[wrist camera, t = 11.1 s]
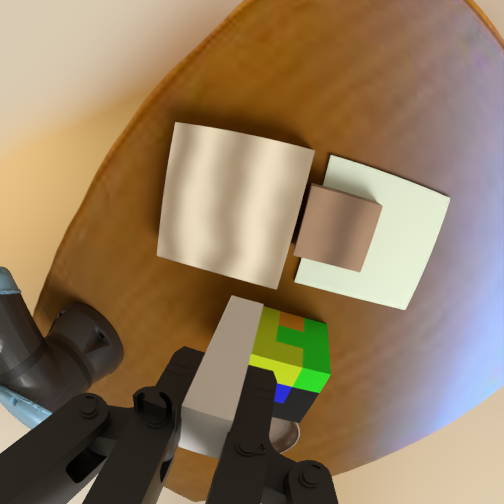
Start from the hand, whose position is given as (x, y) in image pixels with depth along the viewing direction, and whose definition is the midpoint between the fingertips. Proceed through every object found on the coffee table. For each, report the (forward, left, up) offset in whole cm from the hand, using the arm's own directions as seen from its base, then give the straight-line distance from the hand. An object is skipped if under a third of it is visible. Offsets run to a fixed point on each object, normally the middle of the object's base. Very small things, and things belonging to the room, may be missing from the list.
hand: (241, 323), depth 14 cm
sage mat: (+12, 0, -22) cm, 25 cm away
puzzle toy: (+5, -18, -23) cm, 29 cm away
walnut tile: (+7, +1, -22) cm, 23 cm away
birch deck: (-5, 0, -22) cm, 23 cm away
